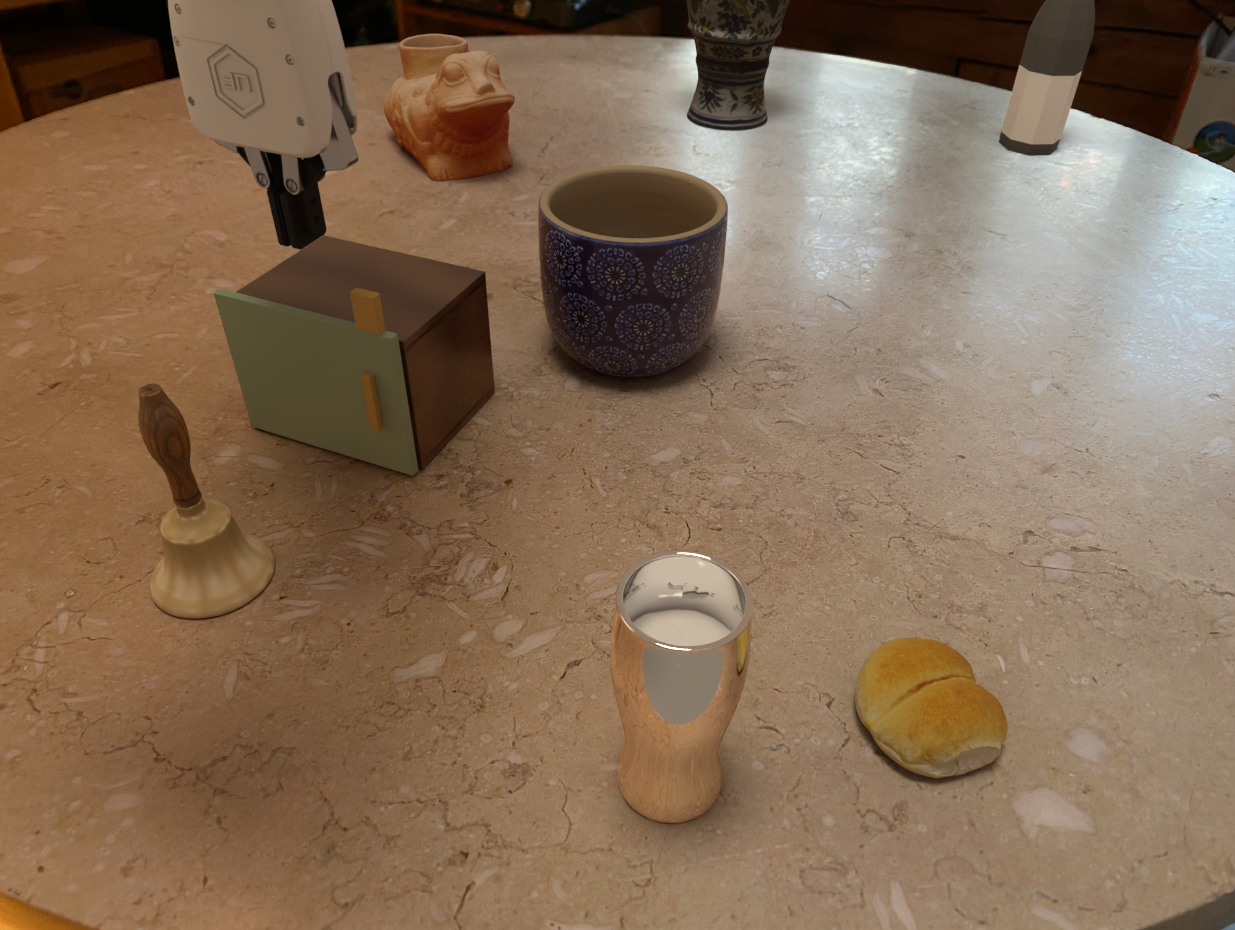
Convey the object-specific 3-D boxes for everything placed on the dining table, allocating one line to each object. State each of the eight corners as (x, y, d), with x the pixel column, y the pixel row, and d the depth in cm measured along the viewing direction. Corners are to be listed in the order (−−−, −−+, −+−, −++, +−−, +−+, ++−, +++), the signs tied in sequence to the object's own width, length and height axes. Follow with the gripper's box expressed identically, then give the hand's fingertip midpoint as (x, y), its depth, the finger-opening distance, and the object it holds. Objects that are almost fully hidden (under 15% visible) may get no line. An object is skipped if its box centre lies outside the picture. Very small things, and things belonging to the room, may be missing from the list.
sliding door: (409, 480, 74) (380, 304, 64) (246, 430, 79) (196, 259, 69) (418, 470, 75) (392, 295, 65) (257, 421, 80) (209, 251, 70)
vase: (672, 96, 149) (683, -126, 130) (781, 101, 148) (808, -122, 129) (666, 132, 136) (677, -108, 117) (785, 138, 135) (816, -103, 116)
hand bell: (293, 539, 69) (241, 354, 59) (247, 624, 63) (181, 434, 53) (184, 530, 70) (115, 346, 59) (128, 614, 63) (40, 423, 53)
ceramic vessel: (442, 198, 117) (428, 73, 107) (373, 132, 134) (356, 20, 125) (542, 178, 122) (537, 57, 113) (463, 117, 140) (453, 8, 130)
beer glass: (603, 729, 57) (604, 550, 47) (716, 720, 57) (740, 541, 48) (615, 837, 51) (619, 660, 42) (740, 825, 52) (772, 648, 42)
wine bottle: (998, 151, 132) (1066, -94, 113) (997, 132, 138) (1062, -103, 119) (1059, 159, 130) (1138, -89, 111) (1055, 139, 136) (1130, -99, 118)
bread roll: (938, 647, 62) (953, 606, 59) (1021, 761, 55) (1042, 720, 53) (825, 675, 60) (836, 633, 57) (897, 796, 53) (912, 755, 51)
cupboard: (422, 470, 75) (403, 341, 68) (262, 421, 80) (227, 296, 73) (495, 392, 84) (485, 271, 77) (346, 353, 89) (323, 235, 81)
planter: (692, 411, 82) (705, 255, 73) (517, 377, 86) (507, 225, 77) (730, 320, 95) (746, 177, 85) (575, 294, 98) (573, 154, 89)
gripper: (88, -60, 53) (180, 241, 64) (306, -33, 48) (362, 285, 60) (185, -82, 58) (253, 200, 70) (389, -59, 54) (425, 238, 65)
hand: (303, 239), depth 65 cm, fingers closed
